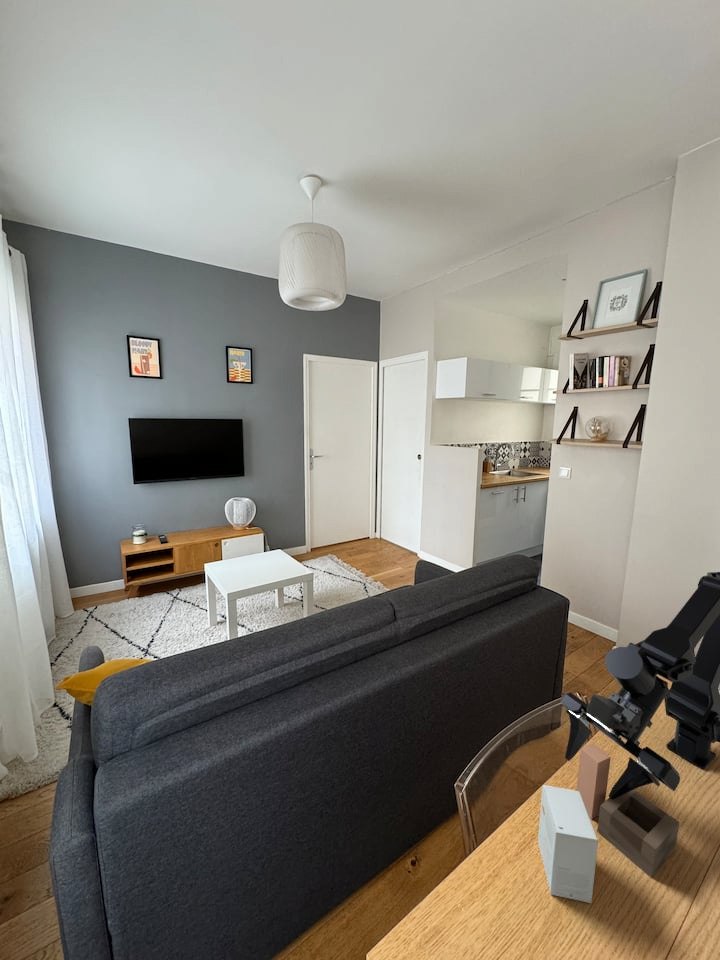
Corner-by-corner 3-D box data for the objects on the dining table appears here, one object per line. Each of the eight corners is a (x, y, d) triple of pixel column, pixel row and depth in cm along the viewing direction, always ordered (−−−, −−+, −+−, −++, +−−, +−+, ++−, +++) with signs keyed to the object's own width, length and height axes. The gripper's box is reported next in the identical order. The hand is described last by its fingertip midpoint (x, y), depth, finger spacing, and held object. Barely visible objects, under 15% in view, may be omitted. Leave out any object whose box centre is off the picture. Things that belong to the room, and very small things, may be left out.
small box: (592, 905, 57) (599, 841, 55) (549, 895, 58) (555, 833, 56) (574, 847, 65) (580, 790, 63) (536, 839, 66) (542, 783, 64)
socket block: (621, 808, 71) (625, 783, 71) (675, 849, 65) (679, 822, 64) (597, 831, 67) (600, 805, 66) (651, 877, 60) (655, 849, 60)
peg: (587, 796, 73) (593, 743, 72) (603, 812, 70) (610, 756, 69) (574, 803, 72) (580, 748, 70) (591, 819, 69) (598, 763, 68)
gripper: (571, 652, 78) (523, 720, 75) (679, 718, 61) (623, 809, 58) (594, 680, 82) (550, 745, 79) (701, 748, 65) (650, 834, 62)
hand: (587, 777), depth 70 cm, fingers open, 8 cm apart
